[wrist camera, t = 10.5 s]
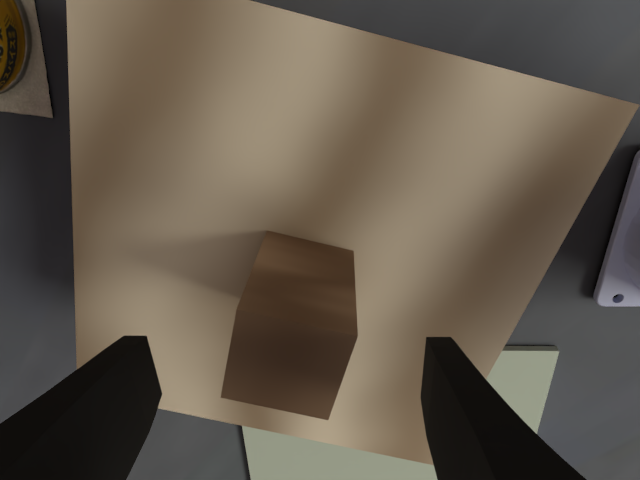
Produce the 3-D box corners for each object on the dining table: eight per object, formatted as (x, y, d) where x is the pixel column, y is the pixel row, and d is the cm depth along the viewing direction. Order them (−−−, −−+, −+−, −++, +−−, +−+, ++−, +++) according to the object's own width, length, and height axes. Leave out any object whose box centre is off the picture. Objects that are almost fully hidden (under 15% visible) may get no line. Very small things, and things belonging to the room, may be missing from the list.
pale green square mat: (555, 346, 23) (559, 351, 23) (504, 539, 31) (505, 545, 30) (230, 344, 24) (229, 349, 24) (261, 531, 32) (260, 537, 32)
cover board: (618, 99, 13) (793, 141, 8) (433, 446, 20) (463, 584, 15) (86, -43, 12) (-100, -100, 7) (90, 374, 19) (0, 495, 14)
